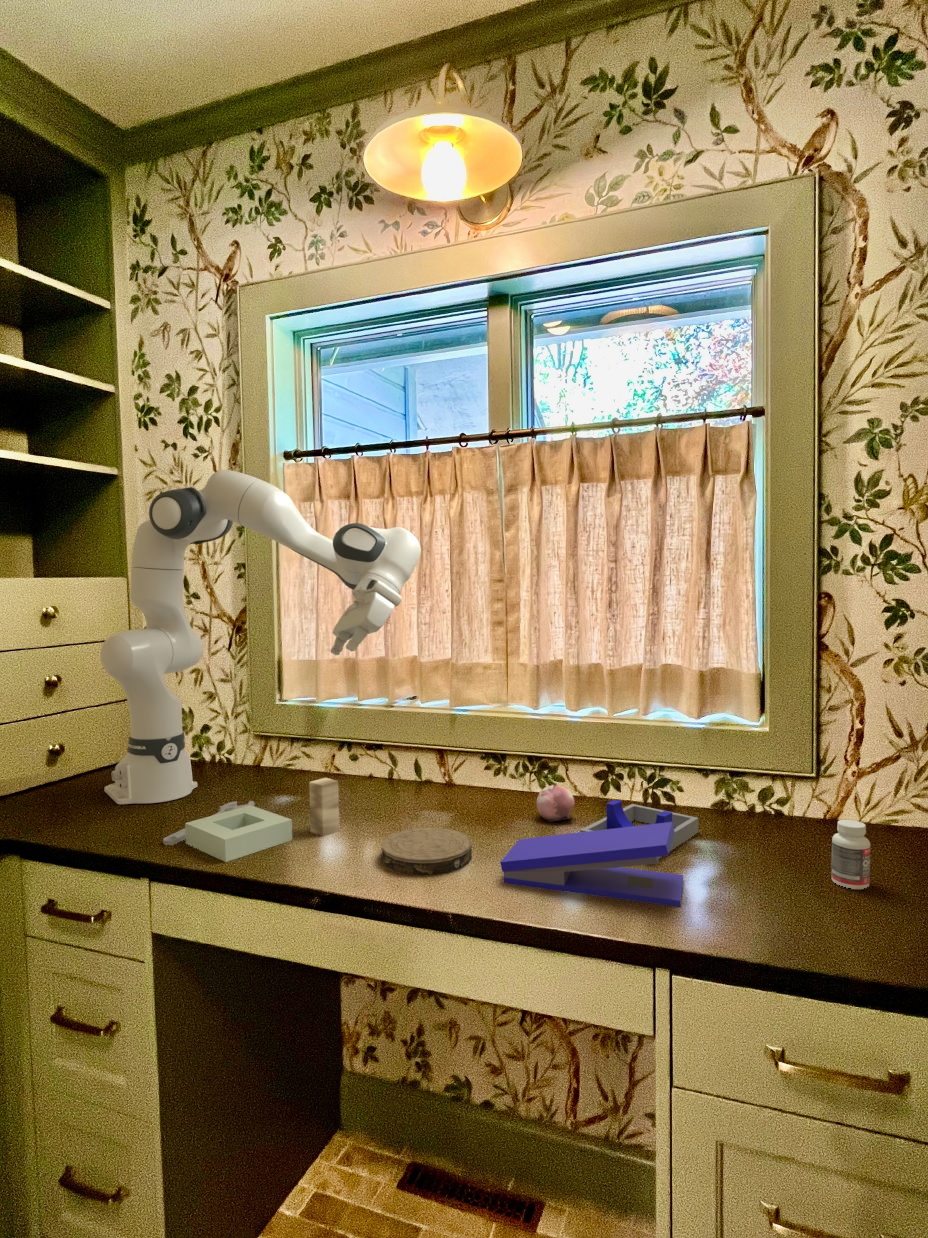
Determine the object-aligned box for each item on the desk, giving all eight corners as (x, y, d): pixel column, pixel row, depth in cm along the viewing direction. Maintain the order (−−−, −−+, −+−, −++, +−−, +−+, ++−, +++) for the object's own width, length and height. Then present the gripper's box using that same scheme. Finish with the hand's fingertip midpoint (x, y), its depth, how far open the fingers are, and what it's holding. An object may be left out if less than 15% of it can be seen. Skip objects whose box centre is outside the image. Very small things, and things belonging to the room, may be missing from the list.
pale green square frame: (185, 844, 136) (185, 823, 136) (250, 824, 146) (250, 805, 146) (225, 862, 127) (225, 839, 126) (292, 840, 137) (291, 819, 137)
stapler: (679, 911, 107) (680, 846, 106) (498, 886, 116) (498, 826, 116) (683, 880, 118) (683, 821, 117) (517, 860, 127) (517, 805, 126)
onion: (532, 824, 147) (525, 789, 149) (557, 819, 152) (551, 785, 154) (560, 821, 142) (554, 784, 144) (585, 816, 147) (579, 780, 149)
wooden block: (310, 832, 142) (309, 782, 141) (326, 826, 145) (325, 777, 144) (323, 836, 139) (322, 785, 138) (339, 831, 142) (338, 781, 141)
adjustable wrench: (171, 849, 134) (171, 840, 134) (146, 845, 137) (145, 836, 137) (259, 809, 157) (259, 801, 157) (236, 806, 160) (235, 798, 160)
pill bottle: (872, 893, 111) (873, 830, 111) (833, 888, 113) (834, 826, 113) (866, 879, 116) (867, 820, 116) (829, 874, 118) (830, 816, 118)
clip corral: (580, 845, 133) (580, 829, 132) (632, 818, 148) (632, 803, 147) (650, 864, 123) (650, 847, 123) (698, 833, 138) (698, 817, 138)
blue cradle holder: (675, 842, 133) (676, 810, 133) (664, 849, 130) (664, 816, 129) (618, 828, 141) (618, 798, 141) (606, 834, 138) (606, 803, 138)
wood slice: (363, 861, 127) (363, 845, 127) (426, 837, 139) (425, 822, 139) (428, 886, 117) (428, 867, 116) (490, 857, 128) (489, 840, 128)
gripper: (345, 595, 159) (313, 648, 154) (380, 579, 141) (345, 638, 136) (368, 611, 161) (337, 663, 156) (406, 597, 143) (372, 656, 138)
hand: (341, 651), depth 146 cm, fingers open, 8 cm apart
